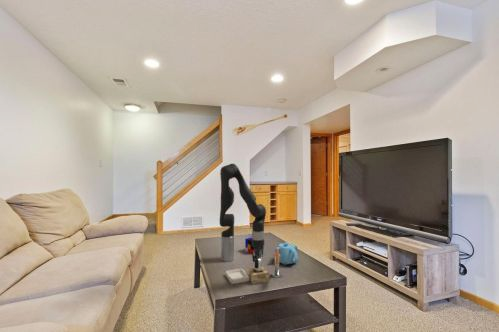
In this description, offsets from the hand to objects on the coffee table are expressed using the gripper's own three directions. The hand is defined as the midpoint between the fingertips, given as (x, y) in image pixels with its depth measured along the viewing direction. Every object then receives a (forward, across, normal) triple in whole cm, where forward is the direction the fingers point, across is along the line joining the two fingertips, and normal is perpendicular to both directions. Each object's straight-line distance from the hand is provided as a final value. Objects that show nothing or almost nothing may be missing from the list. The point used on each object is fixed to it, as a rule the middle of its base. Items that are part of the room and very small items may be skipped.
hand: (258, 266), depth 138 cm
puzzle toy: (+8, +44, +20) cm, 49 cm away
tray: (+7, -4, +12) cm, 15 cm away
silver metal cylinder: (+6, 0, 0) cm, 6 cm away
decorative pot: (+8, +33, -9) cm, 35 cm away
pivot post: (+7, +9, -9) cm, 15 cm away
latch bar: (-4, +3, -11) cm, 12 cm away
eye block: (+7, 0, 0) cm, 7 cm away
